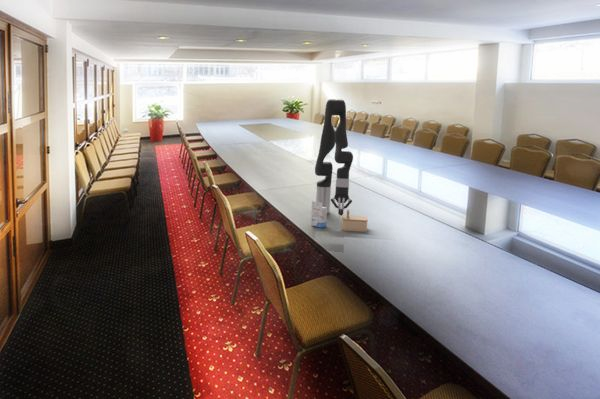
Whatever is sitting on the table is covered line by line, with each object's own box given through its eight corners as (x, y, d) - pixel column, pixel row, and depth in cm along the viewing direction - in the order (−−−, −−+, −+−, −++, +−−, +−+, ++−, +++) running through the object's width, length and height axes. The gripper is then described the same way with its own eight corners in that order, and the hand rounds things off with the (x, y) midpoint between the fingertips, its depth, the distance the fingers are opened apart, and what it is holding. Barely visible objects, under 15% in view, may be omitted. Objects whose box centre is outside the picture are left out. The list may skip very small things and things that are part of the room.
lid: (342, 215, 242) (342, 208, 241) (366, 217, 240) (366, 209, 240) (342, 219, 230) (342, 212, 230) (367, 221, 229) (368, 213, 228)
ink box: (326, 226, 240) (327, 202, 237) (321, 227, 236) (322, 203, 234) (315, 224, 245) (316, 200, 243) (310, 225, 242) (311, 201, 239)
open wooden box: (341, 226, 242) (342, 216, 241) (365, 227, 241) (366, 217, 240) (342, 230, 232) (342, 220, 231) (366, 231, 230) (367, 221, 229)
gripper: (353, 185, 236) (351, 214, 239) (331, 184, 237) (329, 213, 240) (353, 187, 229) (352, 217, 231) (330, 186, 230) (329, 215, 233)
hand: (340, 215), depth 236 cm, fingers closed
